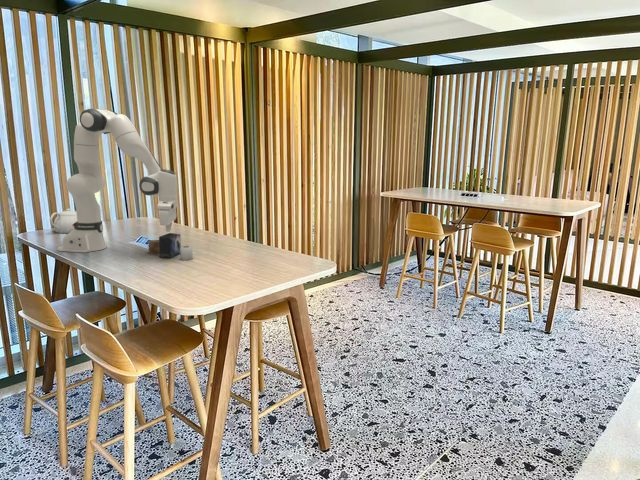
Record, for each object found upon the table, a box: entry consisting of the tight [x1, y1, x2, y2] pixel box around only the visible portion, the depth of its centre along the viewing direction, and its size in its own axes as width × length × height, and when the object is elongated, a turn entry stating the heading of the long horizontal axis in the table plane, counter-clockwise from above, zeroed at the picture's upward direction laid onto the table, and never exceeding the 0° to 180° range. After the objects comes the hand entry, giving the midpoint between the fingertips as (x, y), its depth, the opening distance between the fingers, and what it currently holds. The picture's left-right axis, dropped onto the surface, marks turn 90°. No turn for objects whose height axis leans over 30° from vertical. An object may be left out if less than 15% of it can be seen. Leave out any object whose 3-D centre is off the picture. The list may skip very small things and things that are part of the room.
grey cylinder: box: [179, 245, 193, 261], centre depth 223 cm, size 6×6×6 cm
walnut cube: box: [147, 239, 159, 255], centre depth 233 cm, size 6×6×6 cm
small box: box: [158, 232, 182, 259], centre depth 228 cm, size 11×6×10 cm, turn 168°
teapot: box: [49, 208, 77, 234], centre depth 275 cm, size 19×18×14 cm
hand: (168, 231), depth 226 cm, fingers closed
